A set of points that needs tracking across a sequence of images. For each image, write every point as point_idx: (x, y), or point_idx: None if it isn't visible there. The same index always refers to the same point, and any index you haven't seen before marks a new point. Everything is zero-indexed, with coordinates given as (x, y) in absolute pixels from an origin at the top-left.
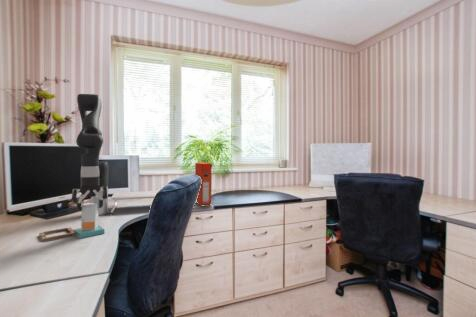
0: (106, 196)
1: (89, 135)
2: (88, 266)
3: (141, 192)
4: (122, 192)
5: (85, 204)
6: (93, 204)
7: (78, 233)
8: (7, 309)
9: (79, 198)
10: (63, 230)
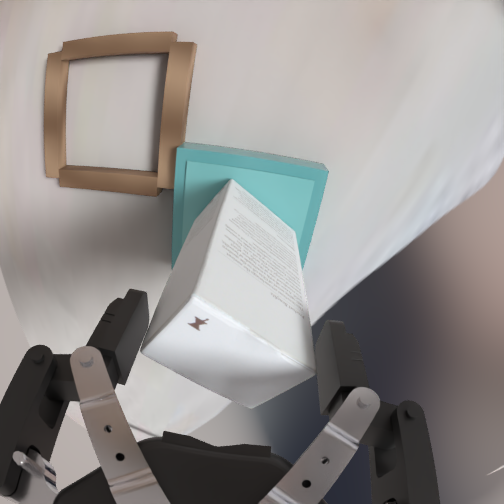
0: (387, 449)
1: None
2: (153, 420)
3: None
4: None
5: (177, 357)
6: (240, 398)
7: (172, 246)
8: (69, 416)
9: (90, 399)
10: (151, 53)
